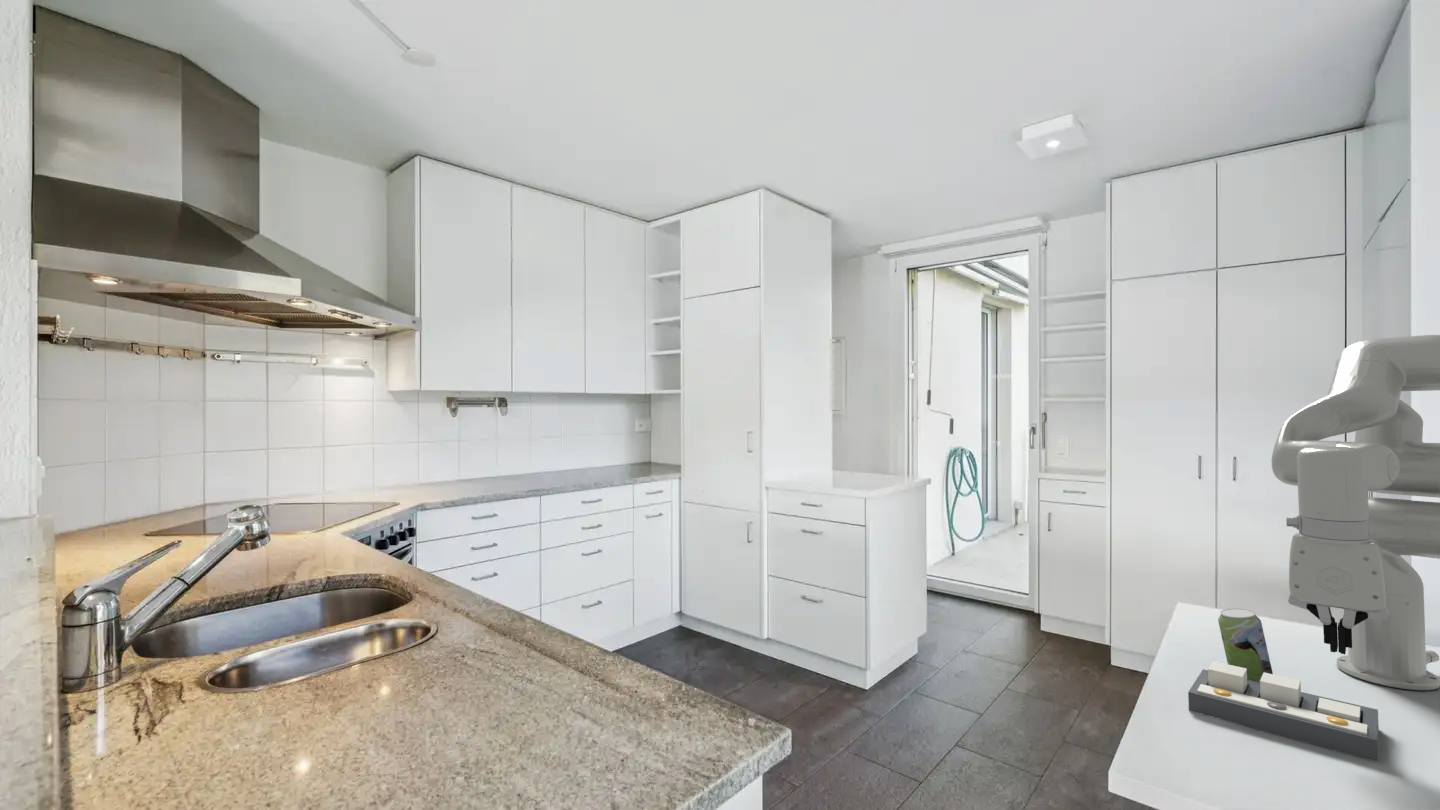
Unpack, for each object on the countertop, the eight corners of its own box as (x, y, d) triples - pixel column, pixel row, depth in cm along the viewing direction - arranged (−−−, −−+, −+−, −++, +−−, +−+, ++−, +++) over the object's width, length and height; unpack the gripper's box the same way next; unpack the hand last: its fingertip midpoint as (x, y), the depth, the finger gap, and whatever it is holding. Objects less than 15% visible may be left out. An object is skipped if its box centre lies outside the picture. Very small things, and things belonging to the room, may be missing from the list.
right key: (1320, 716, 96) (1319, 697, 96) (1360, 727, 93) (1360, 706, 93) (1318, 727, 93) (1317, 707, 93) (1360, 738, 90) (1359, 717, 90)
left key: (1213, 678, 106) (1213, 661, 106) (1247, 686, 102) (1246, 668, 102) (1208, 687, 103) (1208, 668, 103) (1243, 695, 99) (1242, 676, 99)
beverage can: (1281, 687, 107) (1279, 618, 107) (1233, 684, 109) (1231, 616, 109) (1258, 672, 114) (1256, 606, 114) (1212, 669, 115) (1210, 605, 115)
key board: (1203, 686, 108) (1202, 666, 109) (1378, 729, 93) (1377, 706, 93) (1188, 710, 100) (1188, 688, 100) (1378, 762, 85) (1377, 736, 85)
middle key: (1264, 690, 101) (1263, 672, 101) (1301, 699, 98) (1300, 680, 98) (1260, 699, 98) (1259, 680, 98) (1298, 709, 95) (1297, 689, 95)
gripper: (1264, 527, 96) (1269, 645, 96) (1408, 540, 85) (1413, 673, 85) (1270, 519, 101) (1275, 631, 101) (1406, 530, 90) (1411, 655, 91)
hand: (1338, 650), depth 93 cm, fingers closed
